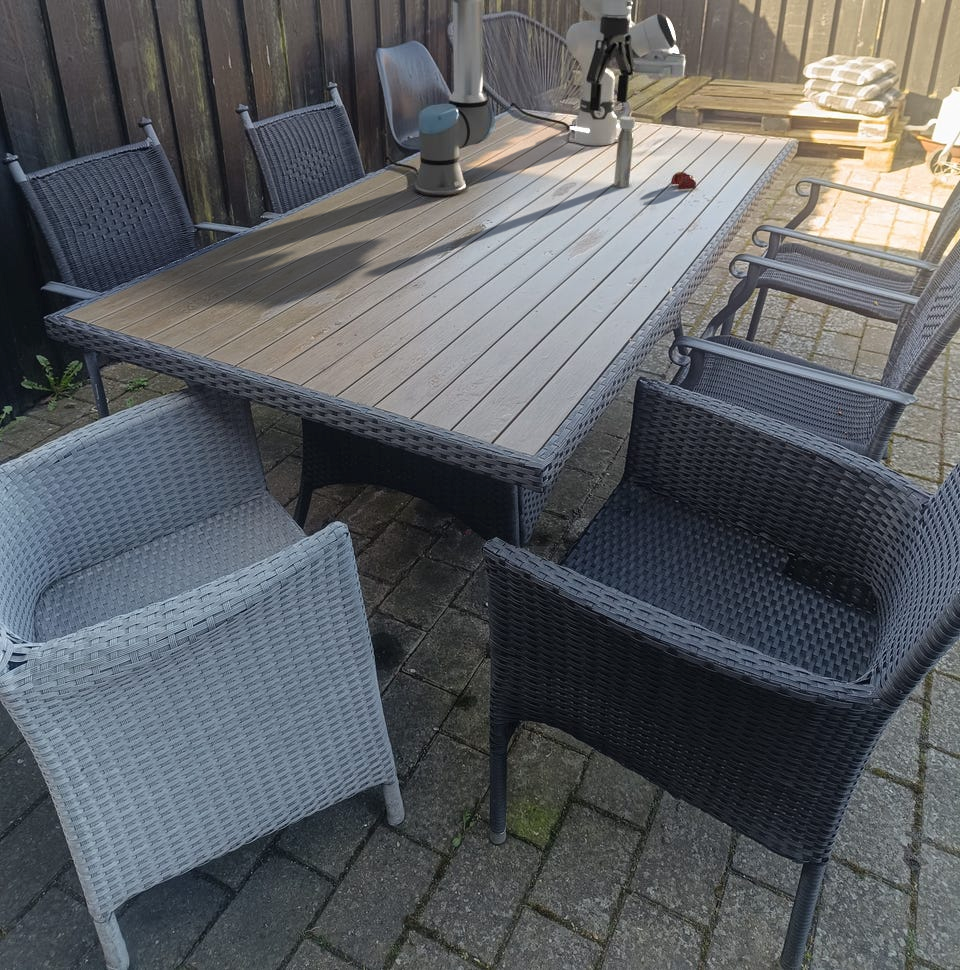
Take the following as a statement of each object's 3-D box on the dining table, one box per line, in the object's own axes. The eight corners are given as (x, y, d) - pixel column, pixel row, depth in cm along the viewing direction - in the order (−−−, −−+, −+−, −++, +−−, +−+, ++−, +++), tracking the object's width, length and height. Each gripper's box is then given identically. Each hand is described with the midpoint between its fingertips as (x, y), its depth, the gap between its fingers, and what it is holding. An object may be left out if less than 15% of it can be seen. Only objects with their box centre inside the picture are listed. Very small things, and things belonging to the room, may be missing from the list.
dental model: (687, 168, 262) (698, 175, 256) (685, 181, 264) (697, 189, 258) (670, 170, 261) (681, 177, 255) (669, 183, 263) (680, 191, 257)
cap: (622, 124, 255) (623, 115, 253) (636, 126, 253) (637, 117, 251) (617, 127, 252) (617, 118, 250) (630, 129, 250) (631, 120, 248)
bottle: (617, 182, 265) (623, 117, 254) (630, 184, 263) (637, 118, 252) (611, 186, 262) (617, 120, 250) (625, 188, 260) (631, 121, 248)
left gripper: (602, 22, 204) (595, 116, 216) (653, 12, 219) (644, 100, 232) (576, 19, 207) (570, 112, 220) (628, 10, 223) (620, 96, 236)
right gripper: (627, 51, 273) (615, 58, 262) (690, 55, 266) (680, 62, 256) (625, 72, 276) (613, 80, 266) (687, 76, 270) (677, 84, 259)
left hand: (608, 106), depth 226 cm, fingers open, 13 cm apart
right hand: (646, 71), depth 261 cm, fingers open, 8 cm apart
